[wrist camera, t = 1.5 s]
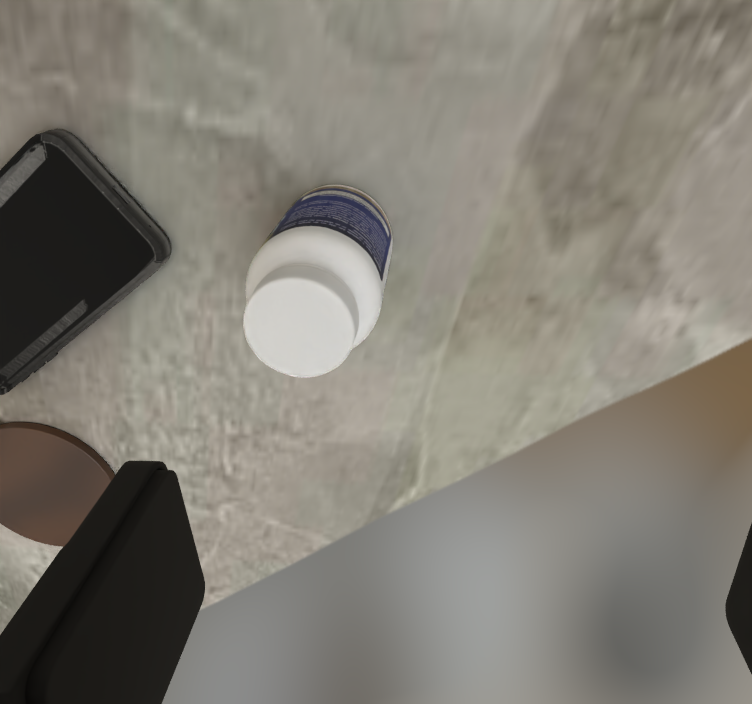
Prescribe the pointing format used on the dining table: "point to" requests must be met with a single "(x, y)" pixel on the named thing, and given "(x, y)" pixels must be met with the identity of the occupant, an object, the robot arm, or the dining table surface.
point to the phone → (64, 249)
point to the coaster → (47, 481)
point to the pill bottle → (318, 281)
